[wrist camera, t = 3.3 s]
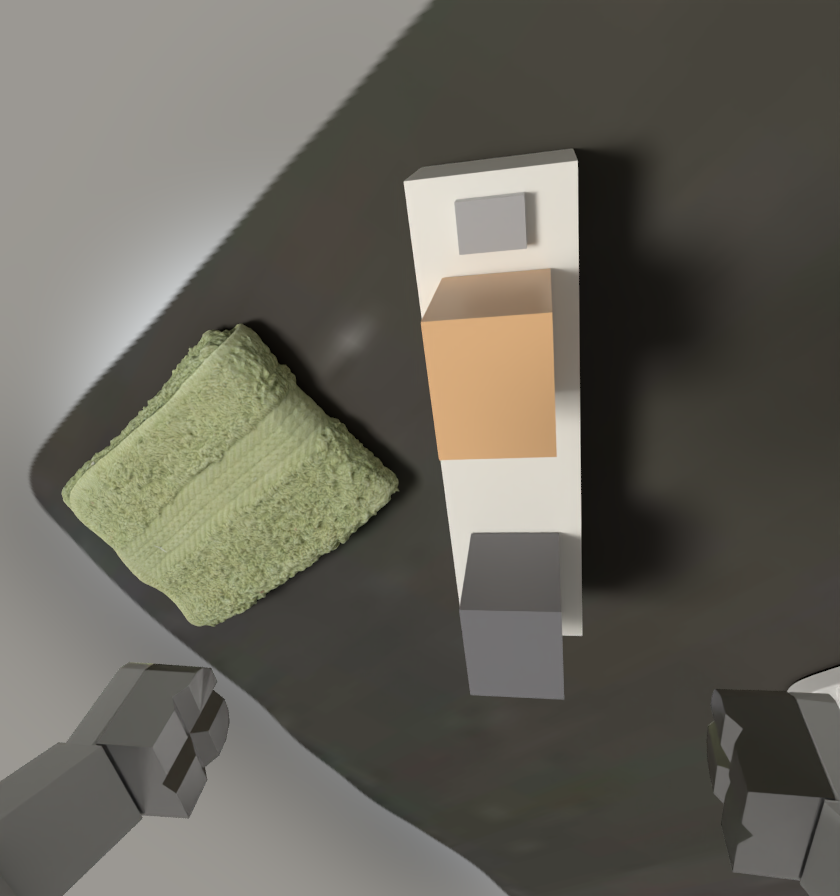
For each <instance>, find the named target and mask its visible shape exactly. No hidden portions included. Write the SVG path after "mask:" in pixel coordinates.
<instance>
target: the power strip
mask: <svg viewBox="0 0 840 896" xmlns="http://www.w3.org/2000/svg"><path fill="white" fill-rule="evenodd" d="M404 188H405V195H406V203H407V210H408V218H409V225H410V233H411V240H412V248H413V255H414V263H415V271H416V278H417V286H418V293H419V301H420V308H421V316H422V318H423V316H424V314H425V312H426V310H427V308H428V306H429V304H430V302H431V300H432V298H433V296H434V294H435V292H436V290H437V288H438V286H439V283H440V281H441V279H442V278H447V277H458V276H470V275H481V274H493V273H504V272H516V271H528V270H539V269H551V291H552V317H553V350H554V383H555V416H556V449H557V457H538V458H501V459H465V460H441V467H442V474H443V482H444V489H445V497H446V505H447V512H448V520H449V527H450V535H451V542H452V550H453V557H454V565H455V572H456V580H457V588H458V595H459V603H460V602H461V595H462V589H463V582H464V576H465V569H466V563H467V557H468V550H469V544H470V537H471V534H473V533H559V555H560V584H561V613H562V635H568V636H582V552H581V446H580V340H579V234H578V160H577V157H576V155H575V152H574V150H573V148H572V149H564V150H556V151H548V152H540V153H532V154H524V155H516V156H508V157H500V158H491V159H483V160H475V161H467V162H459V163H451V164H443V165H435V166H427V167H421V168H420V169H419V170H418V171H416V172H415V173H414V174H412V175H411V176H410V177H409V178H407V179H406V180H405V181H404Z"/></svg>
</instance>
